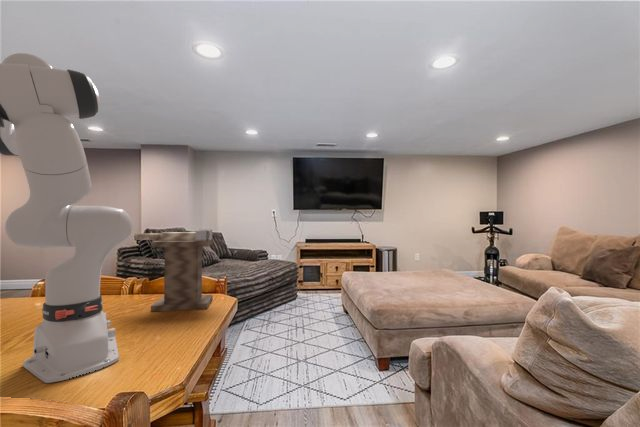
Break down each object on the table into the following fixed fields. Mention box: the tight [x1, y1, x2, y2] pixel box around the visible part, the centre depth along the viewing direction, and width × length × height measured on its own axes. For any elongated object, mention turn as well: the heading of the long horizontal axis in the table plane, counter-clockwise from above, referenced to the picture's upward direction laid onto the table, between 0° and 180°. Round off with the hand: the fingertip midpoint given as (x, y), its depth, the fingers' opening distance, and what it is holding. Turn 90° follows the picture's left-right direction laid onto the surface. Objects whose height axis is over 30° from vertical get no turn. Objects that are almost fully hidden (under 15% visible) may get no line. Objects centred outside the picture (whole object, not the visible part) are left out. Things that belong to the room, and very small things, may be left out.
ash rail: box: [133, 231, 195, 241], centre depth 116 cm, size 26×4×3 cm, turn 101°
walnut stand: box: [150, 238, 214, 312], centre depth 117 cm, size 20×12×26 cm, turn 101°
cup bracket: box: [194, 229, 213, 241], centre depth 119 cm, size 5×8×4 cm, turn 11°
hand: (53, 211), depth 101 cm, fingers open, 8 cm apart
